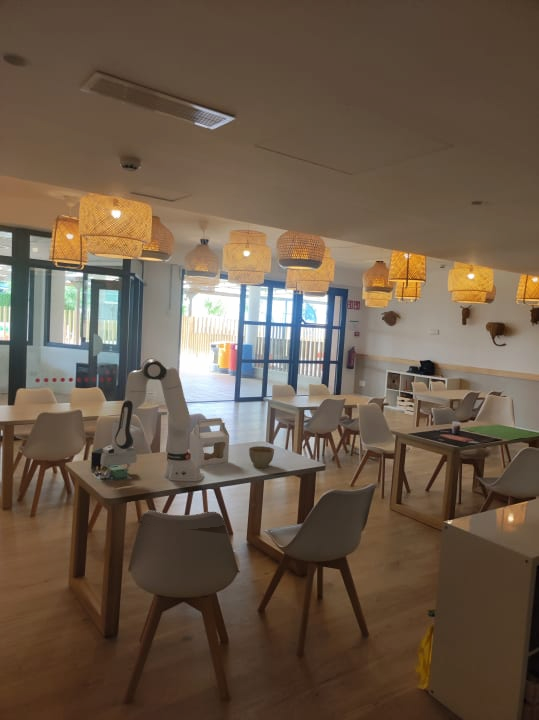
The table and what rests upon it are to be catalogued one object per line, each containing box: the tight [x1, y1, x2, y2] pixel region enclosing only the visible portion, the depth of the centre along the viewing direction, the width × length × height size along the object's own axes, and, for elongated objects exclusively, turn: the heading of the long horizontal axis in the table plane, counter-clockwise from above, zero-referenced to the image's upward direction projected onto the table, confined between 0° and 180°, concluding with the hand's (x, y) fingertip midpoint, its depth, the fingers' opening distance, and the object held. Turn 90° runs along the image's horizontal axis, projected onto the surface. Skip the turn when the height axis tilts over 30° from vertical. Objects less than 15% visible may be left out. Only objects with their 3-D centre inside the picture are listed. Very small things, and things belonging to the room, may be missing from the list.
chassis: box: [90, 466, 133, 484], centre depth 289 cm, size 20×17×6 cm
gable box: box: [188, 417, 230, 467], centre depth 331 cm, size 22×13×28 cm, turn 125°
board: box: [106, 465, 128, 478], centre depth 293 cm, size 14×6×3 cm, turn 37°
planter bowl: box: [248, 445, 275, 469], centre depth 328 cm, size 16×16×11 cm
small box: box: [90, 448, 107, 470], centre depth 306 cm, size 11×6×10 cm, turn 168°
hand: (118, 472), depth 294 cm, fingers open, 8 cm apart
